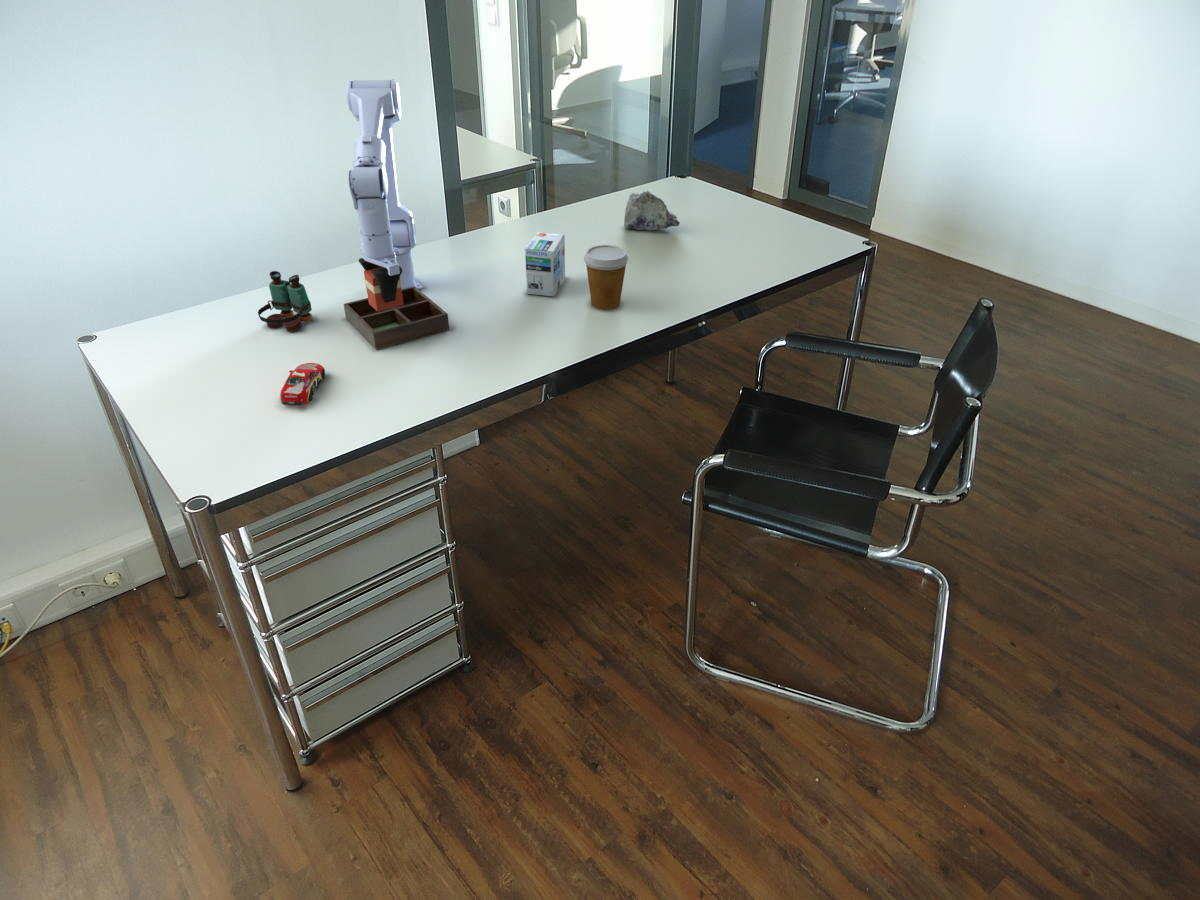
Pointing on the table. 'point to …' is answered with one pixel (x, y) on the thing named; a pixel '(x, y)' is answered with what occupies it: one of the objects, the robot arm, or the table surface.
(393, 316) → the organiser
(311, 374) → the race car
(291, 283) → the binoculars
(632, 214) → the mineral rock
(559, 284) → the light bulb box
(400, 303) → the red cream striped block
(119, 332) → the table surface
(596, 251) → the disposable coffee cup
